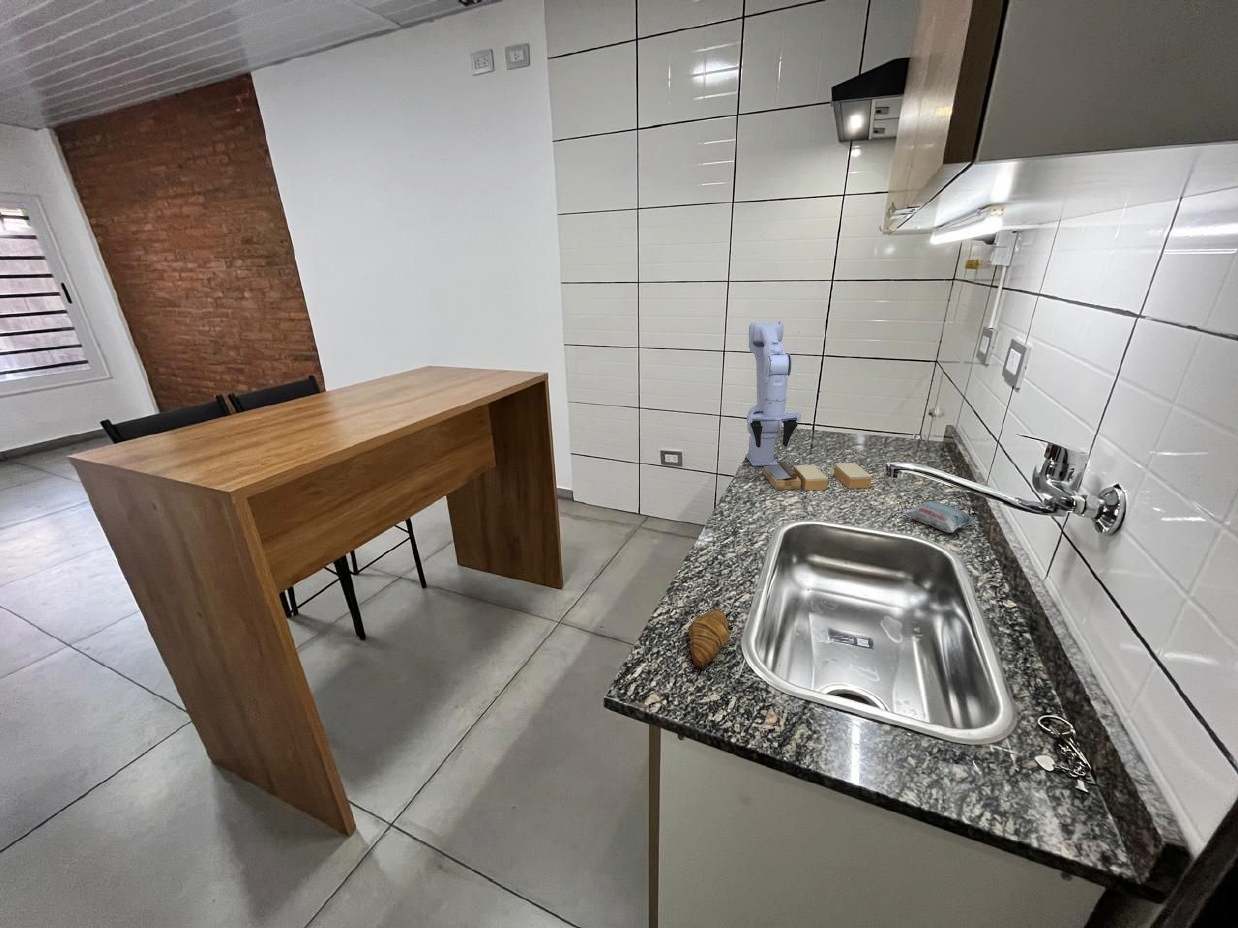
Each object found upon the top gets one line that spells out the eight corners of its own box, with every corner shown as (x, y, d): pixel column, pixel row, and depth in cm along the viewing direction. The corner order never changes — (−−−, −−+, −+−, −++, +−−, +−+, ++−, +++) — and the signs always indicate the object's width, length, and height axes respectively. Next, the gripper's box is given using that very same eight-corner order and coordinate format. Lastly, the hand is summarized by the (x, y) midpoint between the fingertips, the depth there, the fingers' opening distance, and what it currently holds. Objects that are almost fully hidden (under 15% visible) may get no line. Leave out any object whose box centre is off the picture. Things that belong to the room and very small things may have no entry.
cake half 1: (792, 476, 143) (793, 465, 142) (812, 475, 143) (814, 464, 142) (804, 490, 134) (806, 478, 132) (826, 489, 133) (828, 478, 132)
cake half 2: (833, 474, 143) (834, 463, 141) (853, 473, 143) (855, 462, 141) (848, 488, 133) (850, 477, 132) (870, 487, 133) (872, 476, 132)
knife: (765, 464, 143) (784, 460, 143) (766, 469, 144) (785, 465, 144) (776, 477, 134) (796, 473, 134) (776, 482, 135) (796, 478, 134)
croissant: (700, 613, 87) (700, 590, 86) (737, 622, 85) (739, 599, 83) (676, 665, 76) (676, 639, 74) (718, 678, 73) (719, 652, 71)
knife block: (762, 473, 146) (763, 465, 145) (786, 472, 146) (786, 464, 145) (775, 490, 134) (775, 481, 134) (800, 489, 134) (801, 480, 134)
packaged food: (951, 541, 106) (956, 521, 105) (900, 519, 116) (904, 501, 114) (974, 531, 110) (979, 512, 108) (923, 511, 120) (927, 493, 118)
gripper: (752, 403, 129) (749, 451, 134) (806, 401, 129) (802, 449, 134) (745, 397, 136) (743, 443, 141) (797, 395, 136) (793, 441, 140)
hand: (771, 446), depth 138 cm, fingers open, 7 cm apart
